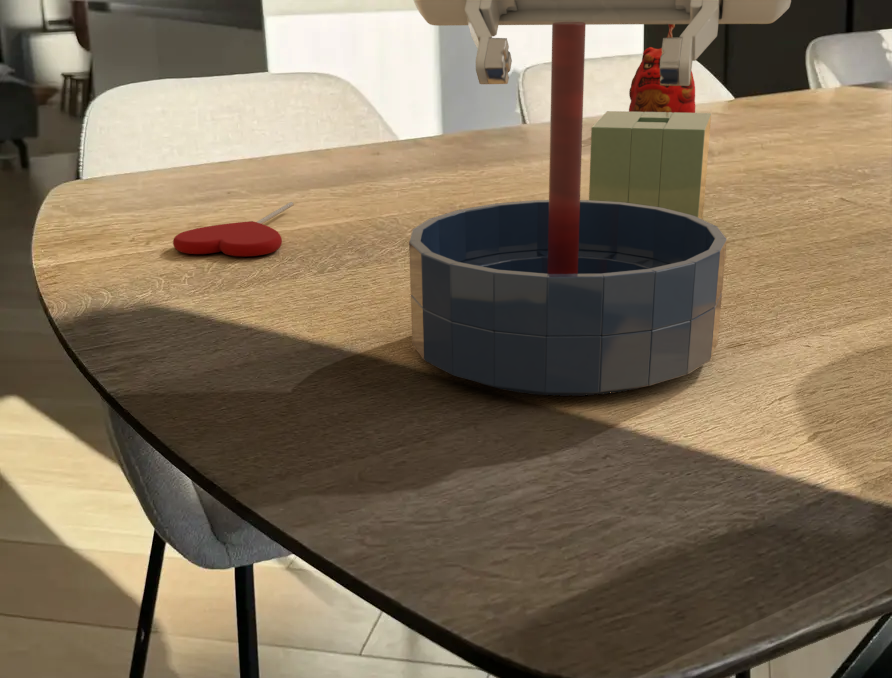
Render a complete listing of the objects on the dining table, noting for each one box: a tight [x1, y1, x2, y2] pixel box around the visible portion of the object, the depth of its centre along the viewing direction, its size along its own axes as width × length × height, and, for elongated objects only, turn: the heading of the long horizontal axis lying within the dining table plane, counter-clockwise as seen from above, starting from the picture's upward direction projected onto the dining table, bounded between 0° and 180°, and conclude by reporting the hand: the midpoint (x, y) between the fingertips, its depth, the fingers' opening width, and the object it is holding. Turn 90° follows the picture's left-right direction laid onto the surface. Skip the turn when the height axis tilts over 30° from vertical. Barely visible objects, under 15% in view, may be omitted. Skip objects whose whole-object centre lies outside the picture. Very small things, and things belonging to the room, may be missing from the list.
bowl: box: [408, 199, 728, 397], centre depth 59 cm, size 16×16×6 cm
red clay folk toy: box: [628, 24, 696, 113], centre depth 124 cm, size 8×7×15 cm
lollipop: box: [172, 201, 295, 257], centre depth 86 cm, size 8×1×15 cm
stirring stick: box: [547, 22, 587, 274], centre depth 57 cm, size 2×2×16 cm
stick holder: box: [588, 110, 712, 220], centre depth 84 cm, size 8×8×8 cm
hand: (580, 77), depth 57 cm, fingers open, 8 cm apart
